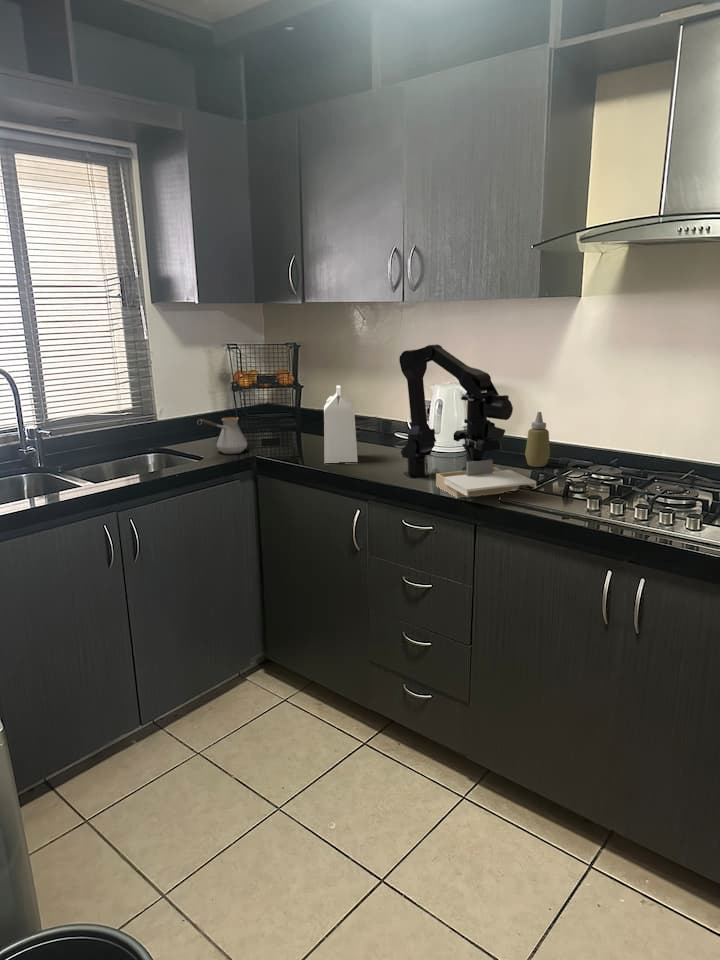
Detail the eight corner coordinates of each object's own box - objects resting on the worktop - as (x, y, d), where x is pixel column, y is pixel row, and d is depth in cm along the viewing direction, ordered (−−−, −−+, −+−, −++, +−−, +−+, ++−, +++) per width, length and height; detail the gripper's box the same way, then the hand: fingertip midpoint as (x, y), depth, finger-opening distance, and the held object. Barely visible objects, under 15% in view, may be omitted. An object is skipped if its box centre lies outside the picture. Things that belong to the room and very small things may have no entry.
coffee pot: (232, 447, 269) (229, 409, 265) (254, 450, 262) (251, 411, 259) (190, 458, 252) (187, 418, 248) (213, 462, 245) (209, 420, 242)
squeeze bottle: (543, 462, 235) (545, 409, 230) (553, 467, 227) (556, 413, 222) (520, 463, 233) (522, 410, 229) (530, 468, 226) (532, 414, 221)
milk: (357, 463, 239) (355, 388, 233) (324, 464, 239) (321, 389, 232) (355, 455, 251) (354, 384, 244) (324, 456, 250) (321, 384, 244)
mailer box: (436, 486, 207) (436, 473, 206) (494, 479, 213) (495, 467, 212) (456, 498, 194) (457, 484, 193) (518, 491, 200) (519, 477, 199)
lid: (444, 483, 200) (444, 463, 198) (509, 476, 206) (510, 456, 205) (466, 496, 187) (467, 475, 185) (535, 487, 193) (536, 467, 192)
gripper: (518, 419, 193) (516, 473, 197) (486, 409, 210) (484, 459, 214) (483, 422, 190) (482, 477, 194) (453, 412, 207) (452, 463, 211)
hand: (476, 468), depth 203 cm, fingers closed
